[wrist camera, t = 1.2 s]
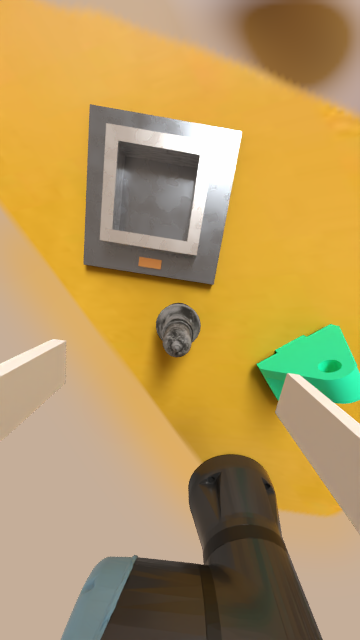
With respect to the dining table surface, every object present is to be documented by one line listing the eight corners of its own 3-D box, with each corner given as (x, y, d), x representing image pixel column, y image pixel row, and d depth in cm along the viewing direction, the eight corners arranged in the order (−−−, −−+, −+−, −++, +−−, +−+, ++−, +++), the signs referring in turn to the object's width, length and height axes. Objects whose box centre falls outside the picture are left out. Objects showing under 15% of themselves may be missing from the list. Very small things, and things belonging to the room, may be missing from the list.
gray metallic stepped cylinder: (160, 339, 28) (144, 381, 17) (158, 301, 27) (140, 317, 15) (198, 338, 28) (210, 380, 17) (198, 300, 27) (211, 316, 15)
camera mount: (274, 397, 31) (320, 454, 21) (253, 361, 29) (291, 403, 19) (343, 362, 29) (429, 405, 19) (324, 322, 28) (405, 346, 18)
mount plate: (212, 284, 27) (216, 285, 23) (87, 264, 26) (73, 262, 23) (239, 137, 23) (249, 112, 19) (93, 112, 22) (78, 81, 19)
